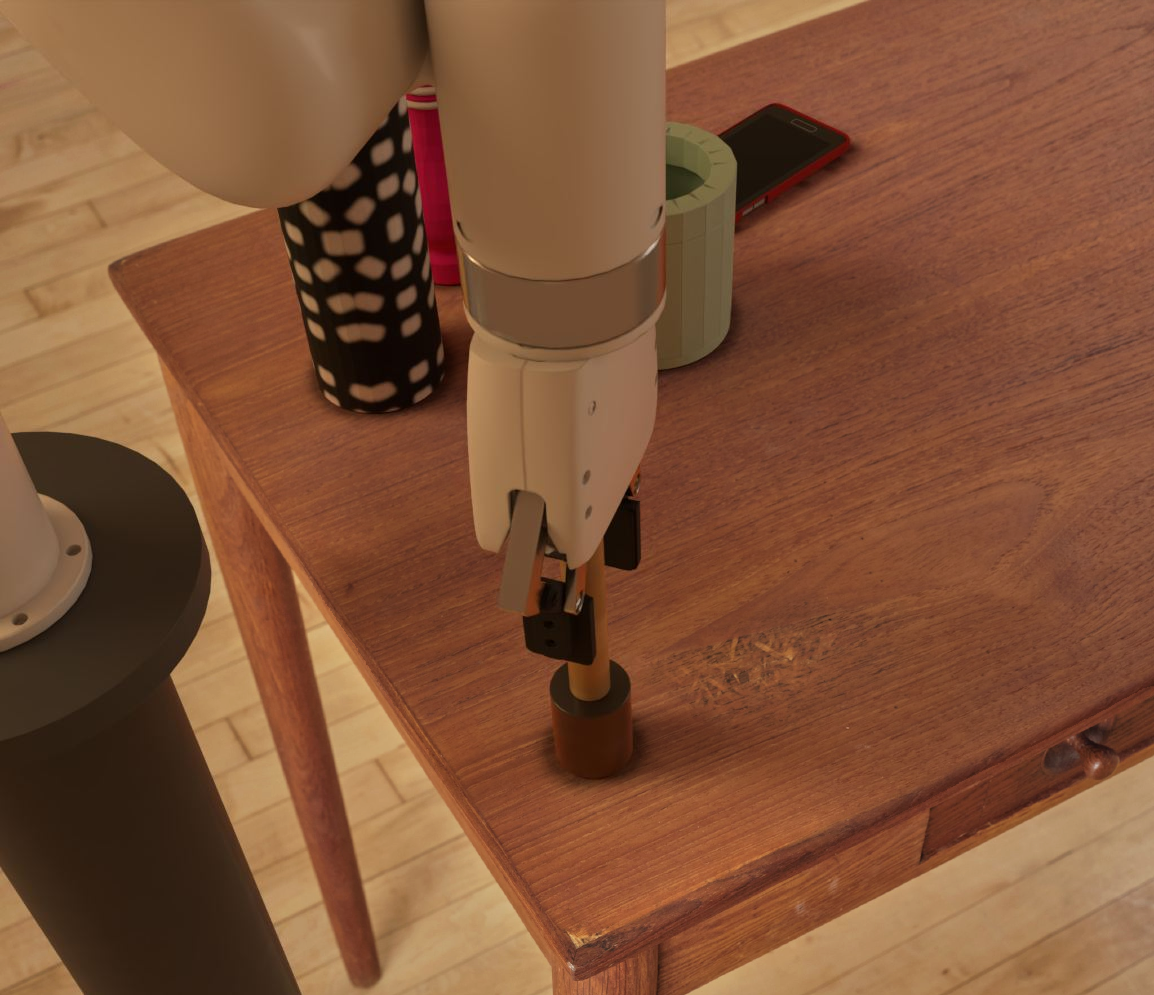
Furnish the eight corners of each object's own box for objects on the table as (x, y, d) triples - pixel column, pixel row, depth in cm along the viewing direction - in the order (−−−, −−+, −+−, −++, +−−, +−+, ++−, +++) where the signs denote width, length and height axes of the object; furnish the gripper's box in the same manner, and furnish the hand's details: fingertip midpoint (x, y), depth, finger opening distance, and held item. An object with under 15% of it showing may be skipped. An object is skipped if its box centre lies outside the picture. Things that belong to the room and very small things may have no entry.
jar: (589, 381, 95) (581, 227, 86) (562, 286, 101) (552, 133, 92) (746, 357, 95) (754, 202, 87) (710, 264, 101) (714, 110, 93)
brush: (562, 785, 76) (540, 561, 63) (549, 724, 78) (526, 498, 65) (639, 772, 76) (633, 547, 63) (624, 712, 79) (616, 483, 66)
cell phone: (854, 149, 109) (855, 137, 108) (716, 238, 103) (717, 226, 102) (774, 111, 112) (774, 99, 111) (636, 196, 106) (636, 183, 106)
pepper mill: (516, 277, 102) (488, -24, 86) (413, 299, 101) (364, 0, 85) (490, 219, 106) (458, -78, 90) (391, 240, 105) (340, -56, 89)
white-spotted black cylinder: (291, 375, 97) (215, 75, 81) (388, 314, 100) (333, 15, 84) (374, 431, 93) (312, 128, 77) (472, 367, 96) (432, 63, 80)
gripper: (549, 124, 60) (572, 468, 74) (369, 392, 50) (436, 726, 65) (730, 152, 58) (717, 499, 72) (578, 435, 49) (599, 769, 63)
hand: (584, 603), depth 69 cm, fingers open, 5 cm apart
